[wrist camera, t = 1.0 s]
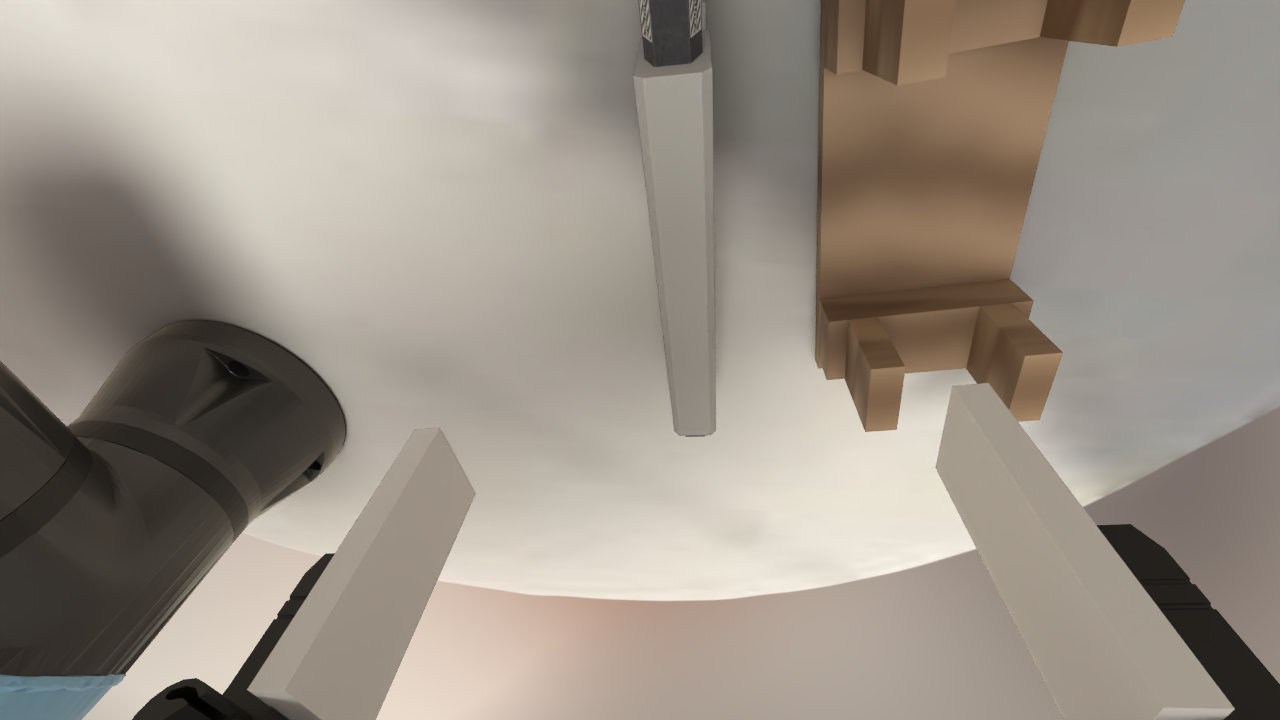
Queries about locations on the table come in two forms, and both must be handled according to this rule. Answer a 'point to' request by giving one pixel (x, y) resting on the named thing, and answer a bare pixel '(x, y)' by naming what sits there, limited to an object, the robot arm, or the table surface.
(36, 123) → the table surface
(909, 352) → the display stand
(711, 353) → the gun
